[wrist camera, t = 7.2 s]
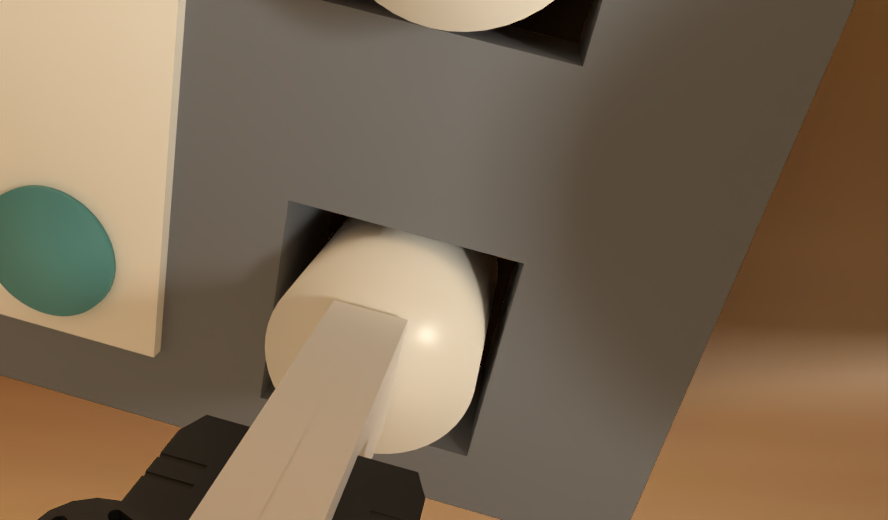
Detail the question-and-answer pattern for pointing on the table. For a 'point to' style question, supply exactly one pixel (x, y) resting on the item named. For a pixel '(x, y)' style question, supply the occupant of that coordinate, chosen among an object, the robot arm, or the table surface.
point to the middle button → (463, 12)
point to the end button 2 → (405, 296)
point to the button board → (397, 206)
